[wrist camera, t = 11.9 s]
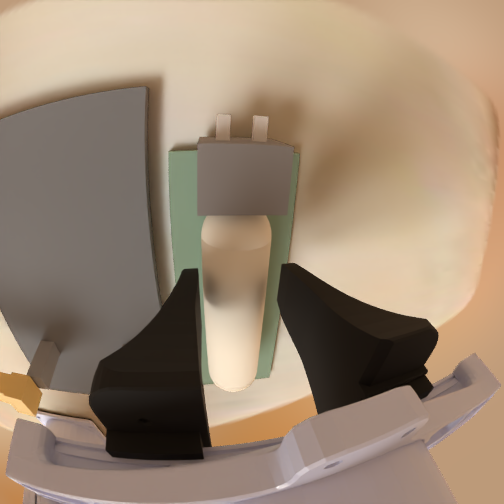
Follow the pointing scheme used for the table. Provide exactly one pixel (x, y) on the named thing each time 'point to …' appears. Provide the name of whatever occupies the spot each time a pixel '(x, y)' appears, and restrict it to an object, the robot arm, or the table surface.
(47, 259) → the mat
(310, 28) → the table surface
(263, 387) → the table surface
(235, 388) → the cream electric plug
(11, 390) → the yellow bar
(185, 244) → the felt pad
